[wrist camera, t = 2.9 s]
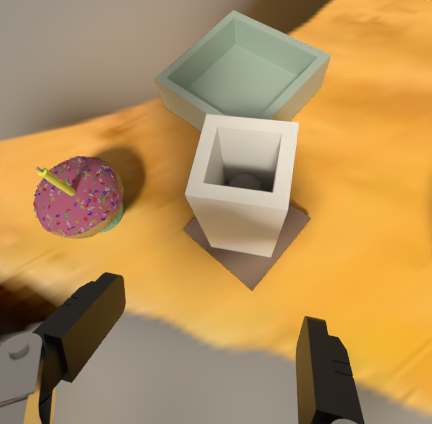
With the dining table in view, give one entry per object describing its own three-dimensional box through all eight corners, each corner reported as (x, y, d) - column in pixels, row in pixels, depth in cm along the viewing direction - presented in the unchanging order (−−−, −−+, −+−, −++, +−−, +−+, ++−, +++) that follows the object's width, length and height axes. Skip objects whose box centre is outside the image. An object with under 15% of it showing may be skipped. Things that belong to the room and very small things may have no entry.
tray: (165, 107, 35) (154, 79, 31) (235, 43, 38) (233, 10, 34) (248, 164, 31) (249, 140, 27) (321, 87, 34) (331, 55, 30)
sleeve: (211, 246, 27) (184, 195, 16) (223, 193, 29) (206, 114, 17) (270, 257, 26) (287, 210, 14) (278, 201, 28) (299, 122, 16)
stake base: (185, 232, 29) (158, 196, 20) (240, 174, 31) (237, 118, 22) (252, 291, 26) (253, 277, 17) (308, 222, 28) (334, 179, 19)
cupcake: (154, 204, 30) (100, 139, 19) (101, 266, 28) (6, 232, 17) (103, 167, 33) (30, 90, 22) (51, 221, 31) (-58, 167, 20)
